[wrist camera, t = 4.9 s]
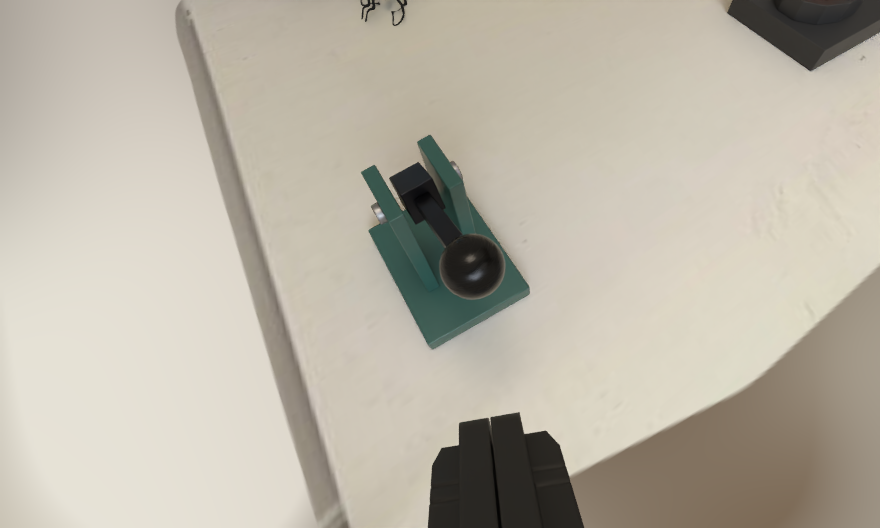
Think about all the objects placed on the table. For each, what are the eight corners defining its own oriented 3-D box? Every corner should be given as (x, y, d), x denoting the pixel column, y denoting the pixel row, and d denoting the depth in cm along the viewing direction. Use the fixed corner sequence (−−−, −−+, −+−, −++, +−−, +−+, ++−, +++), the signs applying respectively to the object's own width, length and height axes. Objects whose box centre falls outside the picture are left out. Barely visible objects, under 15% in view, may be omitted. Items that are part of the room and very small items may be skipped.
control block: (885, 29, 41) (918, -14, 37) (810, 71, 40) (837, 31, 37) (794, -25, 45) (817, -68, 42) (727, 12, 45) (743, -28, 41)
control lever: (524, 291, 22) (506, 242, 20) (466, 323, 22) (442, 278, 20) (440, 192, 31) (422, 152, 29) (399, 214, 31) (379, 176, 29)
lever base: (530, 294, 36) (528, 211, 25) (432, 350, 36) (384, 291, 25) (459, 190, 42) (431, 83, 30) (373, 237, 41) (312, 147, 30)
